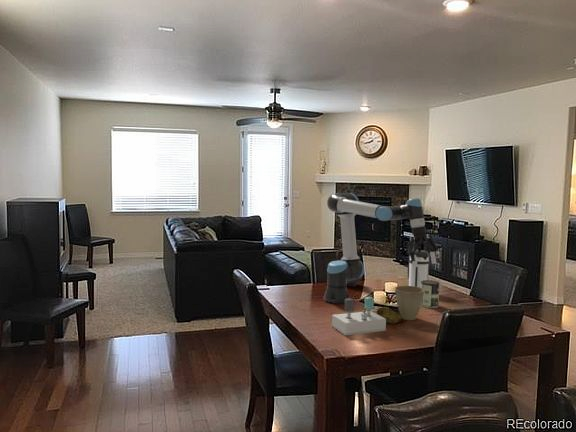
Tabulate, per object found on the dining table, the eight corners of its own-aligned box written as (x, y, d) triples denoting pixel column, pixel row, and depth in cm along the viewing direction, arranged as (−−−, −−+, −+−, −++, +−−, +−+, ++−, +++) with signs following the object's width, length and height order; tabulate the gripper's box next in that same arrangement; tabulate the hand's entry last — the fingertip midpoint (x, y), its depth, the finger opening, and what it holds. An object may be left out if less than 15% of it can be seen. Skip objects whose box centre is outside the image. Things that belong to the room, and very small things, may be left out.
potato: (401, 326, 242) (402, 310, 241) (375, 323, 245) (376, 308, 244) (402, 321, 250) (402, 306, 249) (376, 319, 253) (377, 304, 252)
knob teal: (362, 316, 239) (363, 297, 238) (370, 316, 241) (370, 296, 240) (367, 319, 235) (367, 299, 234) (374, 318, 237) (375, 298, 236)
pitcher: (359, 288, 323) (360, 243, 320) (332, 284, 331) (333, 241, 329) (364, 285, 332) (365, 241, 330) (338, 281, 341) (339, 239, 338)
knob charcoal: (342, 318, 235) (343, 298, 234) (350, 318, 237) (351, 298, 236) (346, 321, 231) (347, 301, 230) (355, 320, 233) (355, 300, 232)
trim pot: (360, 319, 232) (360, 311, 232) (365, 318, 233) (365, 311, 232) (363, 320, 229) (363, 313, 229) (367, 320, 230) (368, 312, 230)
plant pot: (388, 316, 259) (389, 286, 257) (411, 313, 265) (412, 284, 263) (405, 324, 245) (406, 293, 244) (429, 321, 251) (430, 291, 250)
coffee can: (437, 304, 285) (438, 280, 284) (439, 308, 275) (440, 284, 274) (419, 302, 287) (420, 279, 286) (420, 307, 277) (421, 283, 276)
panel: (332, 326, 239) (332, 314, 238) (370, 322, 247) (371, 311, 246) (345, 335, 226) (345, 323, 225) (385, 330, 234) (386, 318, 233)
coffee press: (433, 290, 318) (434, 246, 316) (425, 295, 305) (427, 248, 302) (407, 287, 327) (409, 243, 325) (399, 291, 314) (401, 246, 311)
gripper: (405, 228, 254) (412, 268, 252) (440, 223, 265) (446, 261, 264) (396, 230, 260) (402, 269, 259) (430, 225, 272) (436, 262, 270)
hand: (425, 265), depth 261 cm, fingers open, 13 cm apart
